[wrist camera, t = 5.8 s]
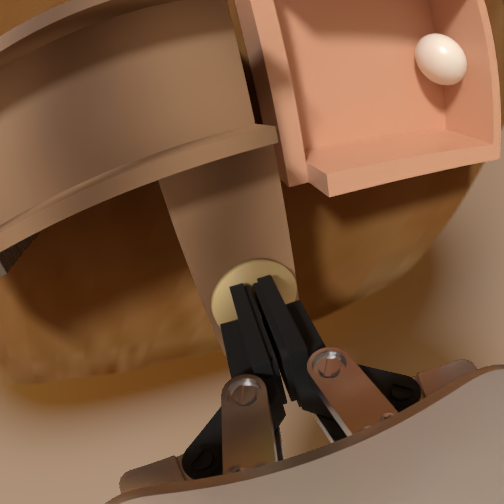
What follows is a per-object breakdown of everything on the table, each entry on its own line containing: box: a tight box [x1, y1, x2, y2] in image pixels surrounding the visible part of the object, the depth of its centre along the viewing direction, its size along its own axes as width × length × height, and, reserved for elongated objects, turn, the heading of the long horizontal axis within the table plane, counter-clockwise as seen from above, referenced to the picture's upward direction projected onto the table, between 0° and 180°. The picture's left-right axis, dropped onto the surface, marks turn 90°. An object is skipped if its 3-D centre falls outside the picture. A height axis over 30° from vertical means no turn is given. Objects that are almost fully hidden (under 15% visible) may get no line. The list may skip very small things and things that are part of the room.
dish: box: [234, 0, 501, 197], centre depth 11 cm, size 14×12×5 cm
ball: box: [415, 33, 467, 85], centre depth 12 cm, size 3×3×3 cm
